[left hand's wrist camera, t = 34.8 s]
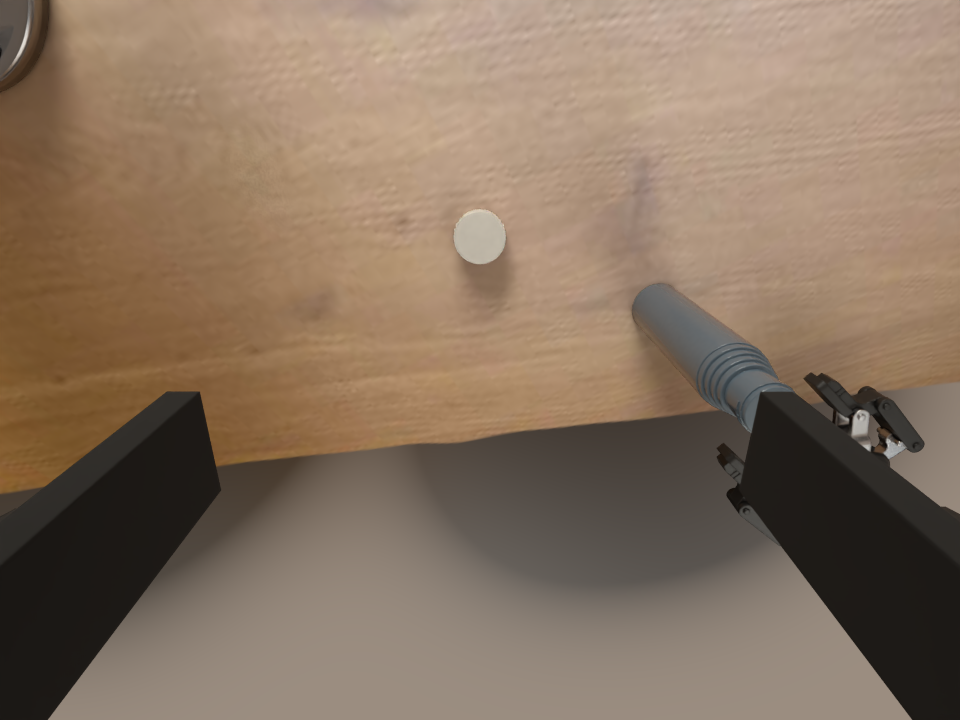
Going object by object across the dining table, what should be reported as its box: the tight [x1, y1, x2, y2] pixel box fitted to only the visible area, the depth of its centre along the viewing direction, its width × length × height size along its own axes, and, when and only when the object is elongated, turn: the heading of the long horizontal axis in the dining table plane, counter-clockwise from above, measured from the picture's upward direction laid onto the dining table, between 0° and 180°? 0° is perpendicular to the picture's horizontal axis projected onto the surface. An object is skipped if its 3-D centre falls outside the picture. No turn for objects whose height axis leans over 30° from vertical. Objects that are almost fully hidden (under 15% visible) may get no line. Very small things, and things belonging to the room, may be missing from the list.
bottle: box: [632, 284, 796, 433], centre depth 36 cm, size 4×4×19 cm
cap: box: [453, 209, 506, 264], centre depth 42 cm, size 4×4×2 cm
